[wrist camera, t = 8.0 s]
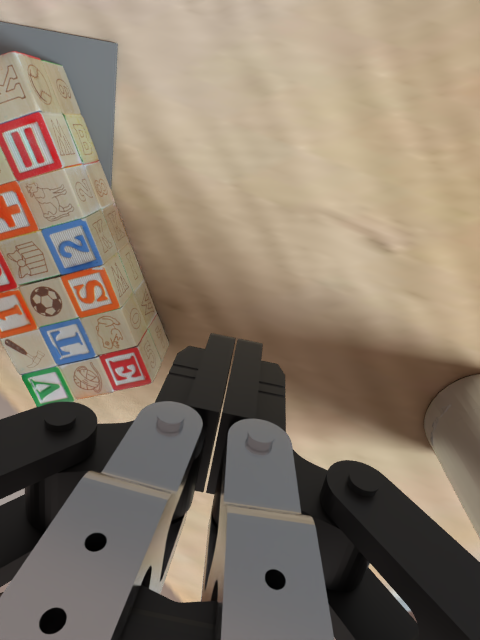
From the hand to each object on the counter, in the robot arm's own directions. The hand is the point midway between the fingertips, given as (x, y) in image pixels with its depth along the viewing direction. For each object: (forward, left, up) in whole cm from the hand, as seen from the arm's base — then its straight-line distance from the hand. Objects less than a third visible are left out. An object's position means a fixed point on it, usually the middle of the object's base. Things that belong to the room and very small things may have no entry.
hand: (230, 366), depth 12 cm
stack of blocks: (+9, +2, -18) cm, 20 cm away
